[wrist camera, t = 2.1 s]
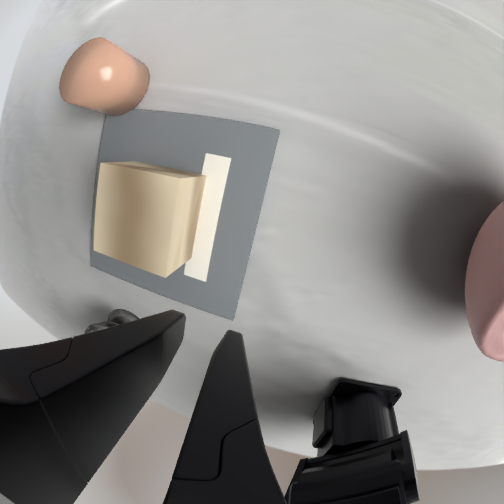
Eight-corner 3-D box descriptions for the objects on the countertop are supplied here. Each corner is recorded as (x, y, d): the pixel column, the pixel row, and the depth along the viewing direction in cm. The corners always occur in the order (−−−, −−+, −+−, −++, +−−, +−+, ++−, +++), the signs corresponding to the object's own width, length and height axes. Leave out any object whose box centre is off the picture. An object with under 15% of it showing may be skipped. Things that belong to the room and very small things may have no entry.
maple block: (206, 175, 18) (180, 178, 15) (191, 257, 20) (165, 277, 16) (135, 161, 19) (100, 162, 15) (125, 236, 21) (93, 250, 17)
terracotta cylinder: (158, 59, 17) (122, 33, 12) (138, 117, 18) (96, 102, 13) (111, 61, 17) (74, 42, 13) (93, 114, 19) (51, 103, 14)
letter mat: (280, 130, 17) (279, 129, 16) (233, 318, 21) (232, 320, 21) (110, 108, 19) (107, 108, 18) (93, 264, 23) (90, 266, 23)
